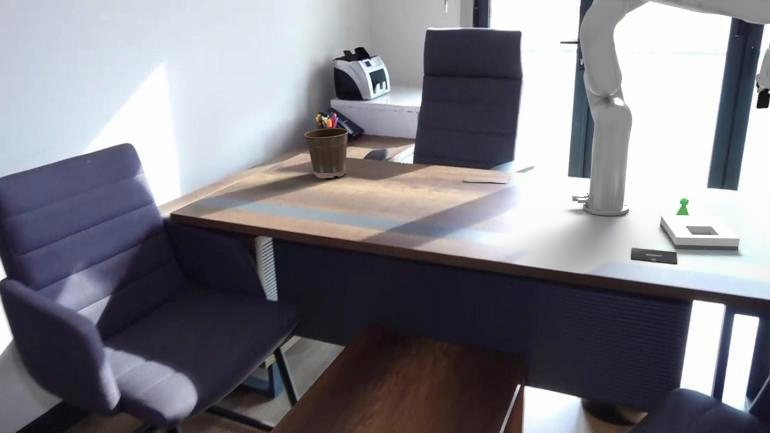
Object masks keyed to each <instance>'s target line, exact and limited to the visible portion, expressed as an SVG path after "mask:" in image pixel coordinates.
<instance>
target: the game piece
mask: <svg viewBox="0 0 770 433" xmlns="http://www.w3.org/2000/svg"><path fill="white" fill-rule="evenodd" d="M679 200H680V201H679V205H681V206H680V207H679V209H678V210H677V212H676V213H675V214H674V215H685V216H690V214H689V210H688V208H687V205H689V201H690V200H689V199H688V198H686V197H683V198H681V199H679Z"/></svg>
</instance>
